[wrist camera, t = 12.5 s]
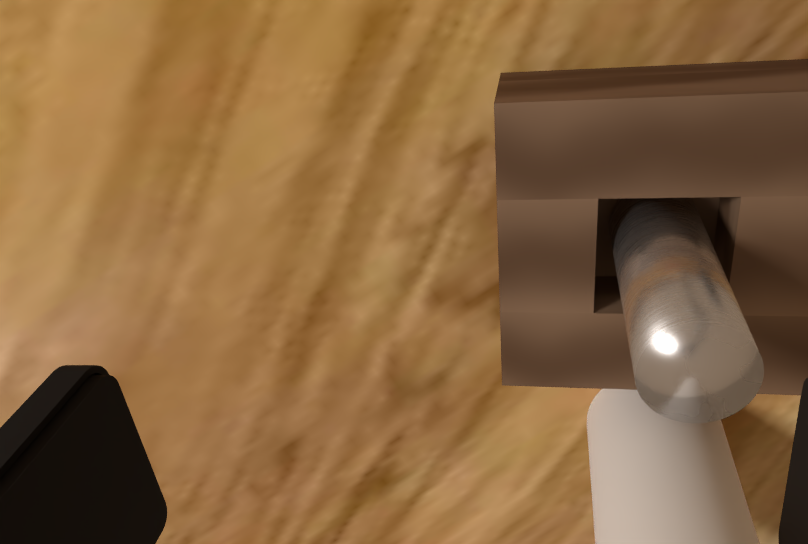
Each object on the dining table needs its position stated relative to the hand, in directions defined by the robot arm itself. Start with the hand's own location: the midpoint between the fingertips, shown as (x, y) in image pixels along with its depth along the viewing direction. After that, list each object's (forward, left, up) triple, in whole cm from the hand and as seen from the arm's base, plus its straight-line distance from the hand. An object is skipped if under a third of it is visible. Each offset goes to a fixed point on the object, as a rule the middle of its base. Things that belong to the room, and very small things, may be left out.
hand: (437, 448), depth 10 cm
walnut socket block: (+8, +6, -27) cm, 29 cm away
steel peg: (+8, +6, -25) cm, 27 cm away
